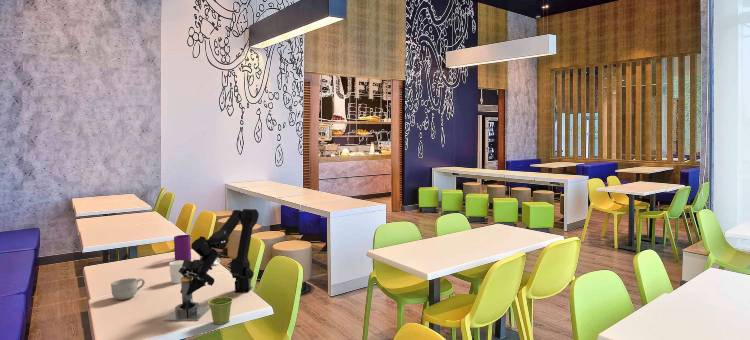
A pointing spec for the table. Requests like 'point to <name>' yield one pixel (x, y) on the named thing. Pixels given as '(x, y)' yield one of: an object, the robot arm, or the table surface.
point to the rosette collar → (187, 313)
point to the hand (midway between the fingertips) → (184, 294)
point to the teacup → (125, 288)
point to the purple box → (182, 247)
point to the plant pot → (220, 309)
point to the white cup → (176, 271)
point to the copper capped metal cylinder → (186, 299)
